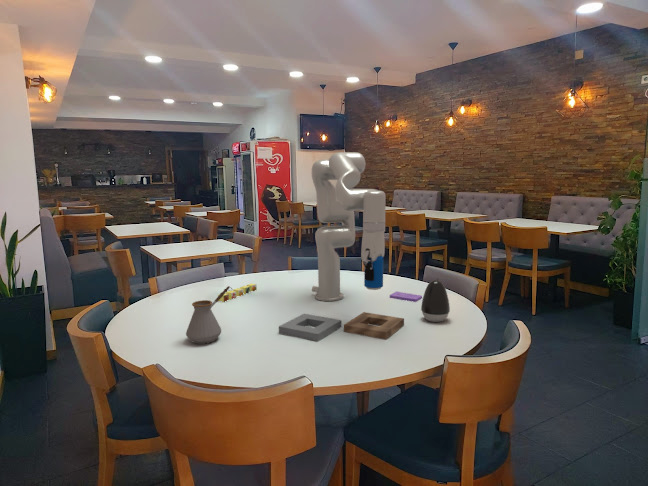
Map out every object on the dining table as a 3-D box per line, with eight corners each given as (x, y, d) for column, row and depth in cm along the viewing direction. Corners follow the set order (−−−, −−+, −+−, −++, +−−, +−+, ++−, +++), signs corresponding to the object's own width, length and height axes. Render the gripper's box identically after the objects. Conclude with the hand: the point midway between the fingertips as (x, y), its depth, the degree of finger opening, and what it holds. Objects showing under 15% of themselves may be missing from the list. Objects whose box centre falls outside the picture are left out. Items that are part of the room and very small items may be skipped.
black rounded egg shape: (450, 316, 171) (451, 277, 169) (448, 325, 161) (449, 284, 159) (422, 314, 174) (423, 275, 172) (419, 322, 165) (420, 282, 162)
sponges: (396, 295, 204) (396, 291, 203) (422, 299, 197) (422, 295, 196) (389, 298, 198) (389, 294, 198) (415, 303, 191) (416, 298, 191)
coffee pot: (206, 348, 144) (204, 303, 142) (178, 343, 149) (175, 299, 147) (245, 327, 163) (243, 287, 161) (219, 323, 168) (217, 284, 166)
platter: (191, 301, 200) (190, 293, 200) (238, 285, 228) (238, 278, 227) (247, 310, 185) (247, 302, 184) (291, 292, 212) (291, 285, 211)
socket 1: (278, 333, 157) (278, 326, 156) (304, 320, 170) (304, 313, 170) (318, 341, 148) (318, 334, 148) (341, 326, 162) (341, 320, 162)
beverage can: (382, 290, 154) (382, 256, 152) (363, 290, 156) (363, 255, 153) (383, 285, 160) (384, 252, 158) (365, 285, 162) (365, 252, 160)
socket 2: (343, 331, 157) (343, 324, 157) (363, 318, 171) (363, 312, 170) (386, 339, 149) (386, 332, 149) (404, 325, 162) (404, 318, 162)
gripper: (374, 223, 164) (374, 271, 167) (352, 229, 149) (352, 282, 152) (394, 224, 160) (393, 274, 163) (373, 231, 145) (373, 285, 148)
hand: (373, 277), depth 157 cm, fingers closed on beverage can, 6 cm apart
